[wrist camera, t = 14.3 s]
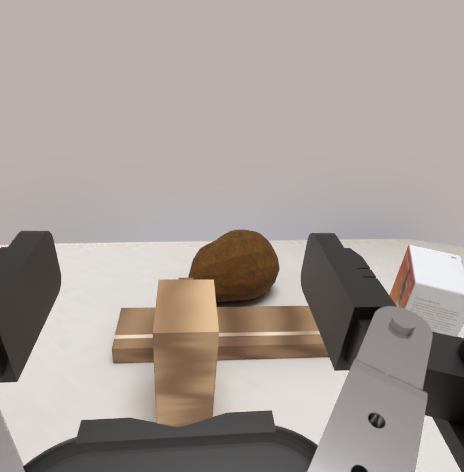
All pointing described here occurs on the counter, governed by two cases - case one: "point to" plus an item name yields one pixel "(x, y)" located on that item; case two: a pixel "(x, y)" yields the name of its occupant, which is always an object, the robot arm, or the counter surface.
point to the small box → (432, 288)
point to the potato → (237, 265)
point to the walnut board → (230, 334)
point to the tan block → (185, 351)
